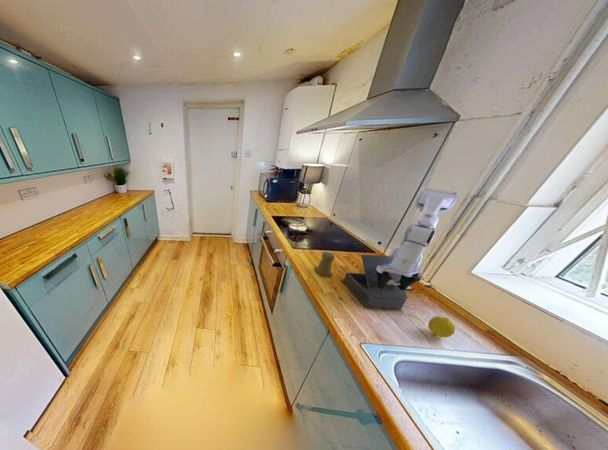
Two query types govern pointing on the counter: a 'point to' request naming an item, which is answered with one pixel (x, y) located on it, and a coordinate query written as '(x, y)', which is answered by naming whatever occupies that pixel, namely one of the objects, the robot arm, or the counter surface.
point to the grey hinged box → (360, 290)
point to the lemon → (441, 326)
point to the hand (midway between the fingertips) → (389, 288)
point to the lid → (371, 277)
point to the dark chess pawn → (325, 264)
